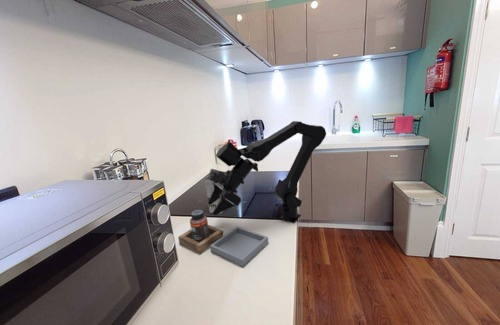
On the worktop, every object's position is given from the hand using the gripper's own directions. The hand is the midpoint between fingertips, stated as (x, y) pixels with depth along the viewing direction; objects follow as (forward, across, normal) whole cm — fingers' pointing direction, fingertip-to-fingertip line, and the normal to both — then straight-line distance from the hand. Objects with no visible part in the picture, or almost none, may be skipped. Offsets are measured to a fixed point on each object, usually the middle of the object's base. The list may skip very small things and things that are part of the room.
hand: (211, 208), depth 80 cm
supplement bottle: (+12, 0, +5) cm, 13 cm away
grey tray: (+3, +10, +13) cm, 16 cm away
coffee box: (+3, -22, +13) cm, 26 cm away
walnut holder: (+11, 0, +5) cm, 12 cm away
